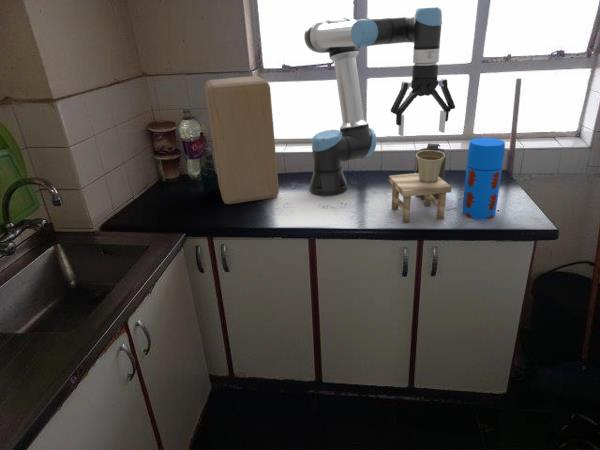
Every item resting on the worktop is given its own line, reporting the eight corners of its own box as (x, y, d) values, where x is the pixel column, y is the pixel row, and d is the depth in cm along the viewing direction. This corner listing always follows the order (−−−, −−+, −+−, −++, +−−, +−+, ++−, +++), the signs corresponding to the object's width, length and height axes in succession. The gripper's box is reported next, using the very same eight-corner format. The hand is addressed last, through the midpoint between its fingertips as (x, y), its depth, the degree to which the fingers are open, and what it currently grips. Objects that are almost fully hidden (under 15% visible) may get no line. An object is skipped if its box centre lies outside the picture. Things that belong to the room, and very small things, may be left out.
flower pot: (441, 185, 144) (443, 161, 140) (411, 183, 147) (413, 158, 143) (444, 175, 151) (446, 151, 147) (416, 172, 155) (418, 149, 151)
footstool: (388, 206, 161) (388, 175, 155) (430, 202, 162) (432, 171, 157) (401, 224, 146) (403, 191, 141) (448, 220, 147) (451, 186, 142)
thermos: (479, 222, 144) (488, 148, 134) (455, 211, 153) (461, 141, 143) (502, 214, 149) (513, 142, 138) (477, 205, 157) (485, 136, 147)
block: (280, 198, 174) (270, 80, 155) (223, 207, 170) (206, 86, 151) (270, 181, 194) (260, 74, 175) (219, 188, 190) (203, 79, 171)
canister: (440, 190, 172) (444, 140, 164) (445, 200, 163) (450, 147, 155) (412, 191, 174) (414, 141, 165) (415, 200, 164) (418, 148, 156)
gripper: (389, 67, 129) (387, 139, 138) (470, 62, 131) (463, 132, 140) (382, 65, 136) (380, 133, 145) (459, 60, 137) (453, 127, 146)
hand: (421, 133), depth 142 cm, fingers open, 13 cm apart
